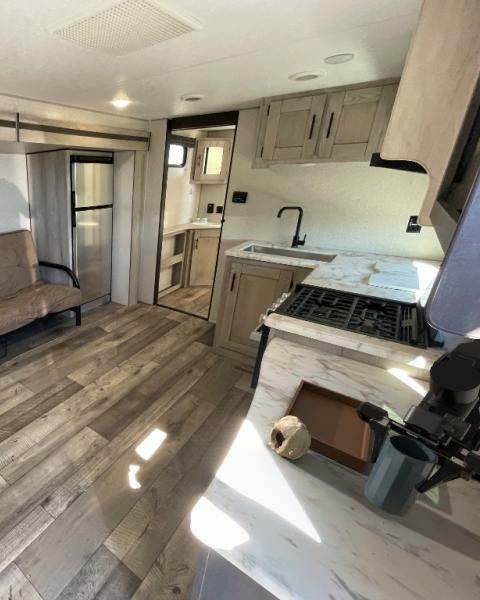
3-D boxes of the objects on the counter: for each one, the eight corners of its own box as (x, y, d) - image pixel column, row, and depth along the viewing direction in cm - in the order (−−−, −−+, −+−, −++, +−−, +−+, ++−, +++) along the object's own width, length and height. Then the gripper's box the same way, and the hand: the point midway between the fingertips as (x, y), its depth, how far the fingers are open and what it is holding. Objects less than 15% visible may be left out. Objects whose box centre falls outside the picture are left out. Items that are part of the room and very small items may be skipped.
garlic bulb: (273, 444, 85) (279, 407, 84) (312, 459, 78) (318, 419, 78) (261, 453, 78) (267, 413, 78) (302, 470, 72) (309, 427, 72)
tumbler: (365, 478, 66) (387, 428, 61) (409, 499, 62) (437, 448, 57) (361, 499, 61) (385, 447, 57) (408, 524, 57) (439, 470, 52)
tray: (299, 388, 104) (301, 379, 103) (369, 414, 93) (373, 404, 92) (277, 433, 85) (280, 423, 84) (362, 472, 74) (367, 462, 73)
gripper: (376, 366, 63) (330, 429, 62) (532, 428, 47) (473, 514, 46) (381, 388, 69) (338, 446, 68) (519, 449, 54) (467, 525, 53)
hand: (394, 477), depth 59 cm, fingers closed on tumbler, 7 cm apart
